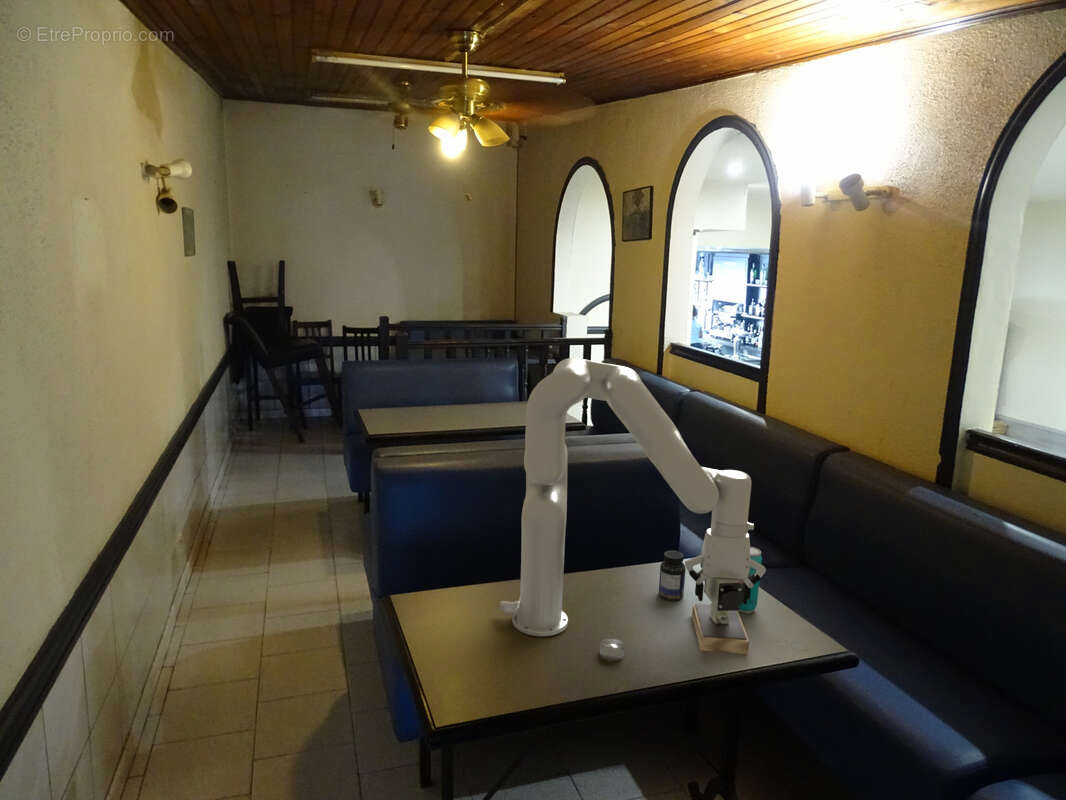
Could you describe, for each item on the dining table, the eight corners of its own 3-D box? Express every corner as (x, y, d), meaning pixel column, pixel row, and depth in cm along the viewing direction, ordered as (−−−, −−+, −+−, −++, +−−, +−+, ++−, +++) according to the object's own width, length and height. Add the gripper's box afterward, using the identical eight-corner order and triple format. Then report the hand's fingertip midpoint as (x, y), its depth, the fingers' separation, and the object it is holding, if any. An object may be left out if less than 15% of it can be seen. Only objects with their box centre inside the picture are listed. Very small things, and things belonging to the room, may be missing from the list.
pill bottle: (668, 587, 186) (671, 547, 183) (688, 596, 181) (692, 555, 179) (653, 595, 181) (656, 553, 179) (673, 604, 177) (676, 561, 175)
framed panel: (700, 650, 157) (701, 636, 156) (691, 616, 172) (693, 602, 171) (747, 654, 156) (749, 639, 156) (735, 619, 171) (736, 605, 170)
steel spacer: (599, 661, 152) (600, 650, 152) (599, 648, 157) (600, 637, 156) (624, 663, 152) (624, 652, 151) (623, 650, 157) (623, 639, 156)
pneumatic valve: (718, 634, 157) (723, 582, 155) (700, 608, 169) (704, 559, 166) (743, 633, 158) (748, 582, 155) (723, 607, 169) (727, 558, 167)
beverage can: (727, 608, 176) (732, 550, 173) (738, 600, 180) (744, 543, 177) (749, 617, 172) (755, 557, 169) (760, 609, 176) (766, 550, 173)
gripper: (765, 523, 162) (758, 595, 165) (686, 518, 163) (680, 589, 167) (773, 536, 154) (765, 611, 158) (690, 531, 156) (684, 605, 159)
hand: (721, 600), depth 162 cm, fingers open, 9 cm apart
